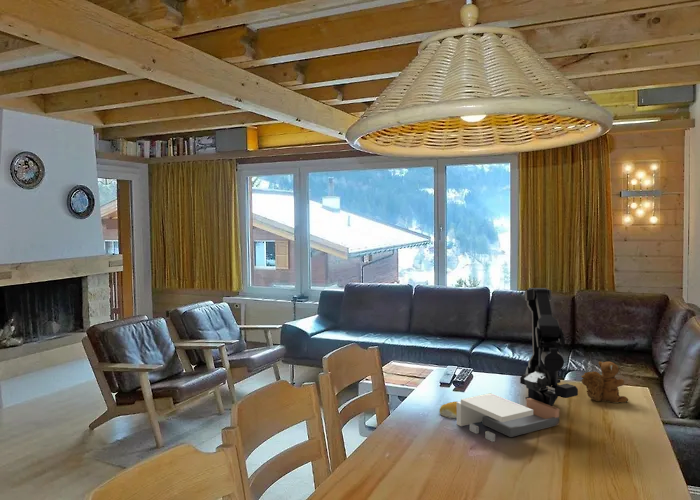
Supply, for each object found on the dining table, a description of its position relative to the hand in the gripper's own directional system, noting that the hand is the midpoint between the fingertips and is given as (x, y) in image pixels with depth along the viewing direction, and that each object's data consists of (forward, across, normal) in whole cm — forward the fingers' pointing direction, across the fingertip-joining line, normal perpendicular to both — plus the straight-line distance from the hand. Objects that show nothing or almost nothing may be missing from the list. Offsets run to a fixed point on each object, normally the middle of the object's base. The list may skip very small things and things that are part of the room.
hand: (547, 411), depth 184 cm
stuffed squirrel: (+3, -4, +32) cm, 32 cm away
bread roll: (+3, -19, -22) cm, 30 cm away
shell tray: (+2, 0, -12) cm, 12 cm away
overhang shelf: (+2, 0, -22) cm, 22 cm away
